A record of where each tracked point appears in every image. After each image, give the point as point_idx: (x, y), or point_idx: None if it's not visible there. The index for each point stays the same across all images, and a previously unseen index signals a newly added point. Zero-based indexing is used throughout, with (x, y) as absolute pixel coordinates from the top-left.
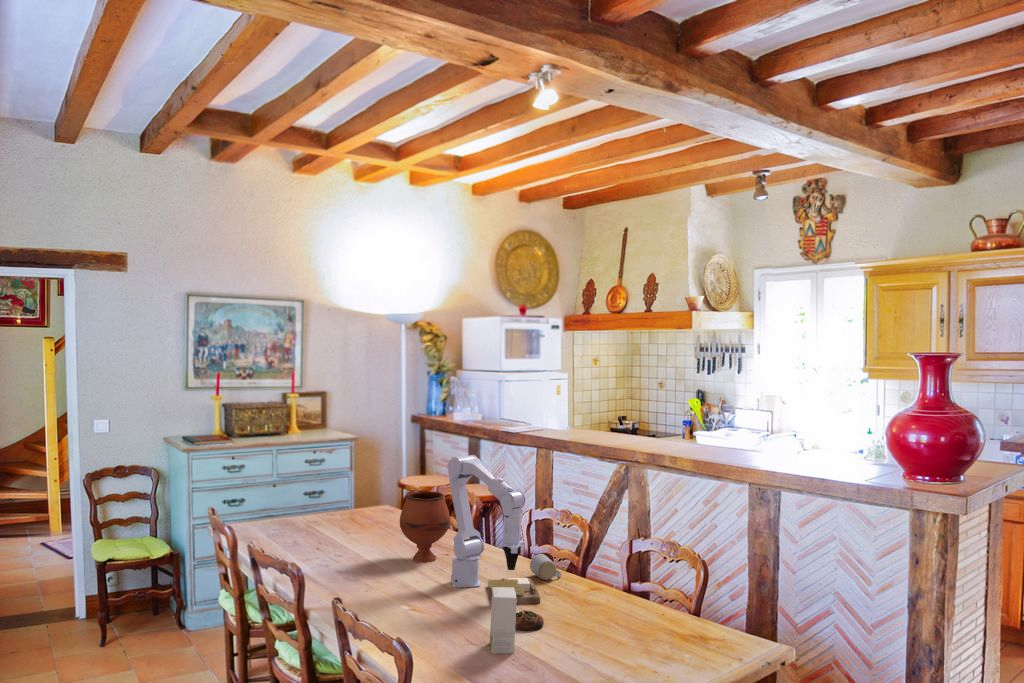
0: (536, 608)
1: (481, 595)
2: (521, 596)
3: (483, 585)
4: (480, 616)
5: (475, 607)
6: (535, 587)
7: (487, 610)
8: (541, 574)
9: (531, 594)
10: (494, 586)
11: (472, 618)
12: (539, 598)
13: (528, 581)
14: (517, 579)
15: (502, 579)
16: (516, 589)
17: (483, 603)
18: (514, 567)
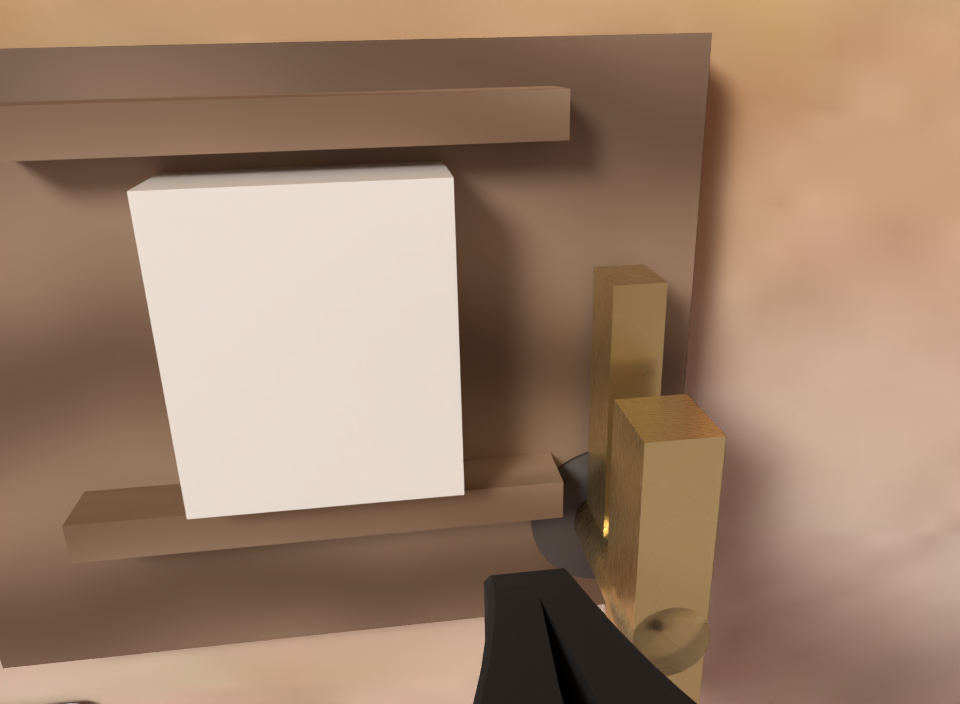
0: (842, 109)
1: (371, 669)
2: None
3: (11, 668)
4: (928, 649)
5: (708, 697)
6: (258, 47)
7: (801, 603)
8: None
9: (587, 153)
10: None
11: (955, 700)
12: (701, 44)
13: (333, 193)
14: (655, 442)
15: None
16: (642, 392)
17: None
18: (584, 600)
